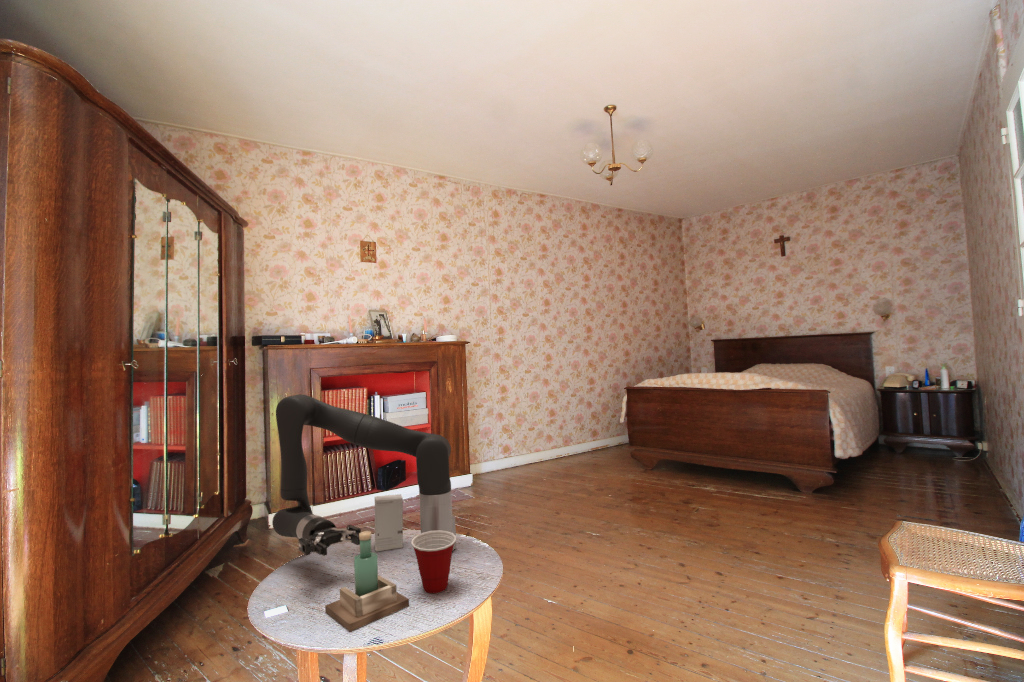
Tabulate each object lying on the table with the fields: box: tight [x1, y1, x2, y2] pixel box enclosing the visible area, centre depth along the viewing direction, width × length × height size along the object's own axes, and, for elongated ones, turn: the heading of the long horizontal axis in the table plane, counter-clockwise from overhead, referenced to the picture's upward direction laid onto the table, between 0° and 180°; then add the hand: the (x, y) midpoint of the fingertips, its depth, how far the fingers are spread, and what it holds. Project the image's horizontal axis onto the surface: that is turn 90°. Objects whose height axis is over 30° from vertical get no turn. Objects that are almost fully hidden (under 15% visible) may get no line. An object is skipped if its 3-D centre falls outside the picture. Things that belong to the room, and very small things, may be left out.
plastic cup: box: [411, 530, 457, 594], centre depth 117 cm, size 11×11×12 cm
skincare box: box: [374, 494, 404, 553], centre depth 146 cm, size 8×6×15 cm
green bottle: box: [353, 530, 379, 597], centre depth 109 cm, size 5×5×15 cm
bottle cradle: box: [324, 574, 410, 632], centre depth 108 cm, size 14×12×5 cm
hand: (343, 545), depth 117 cm, fingers open, 8 cm apart
